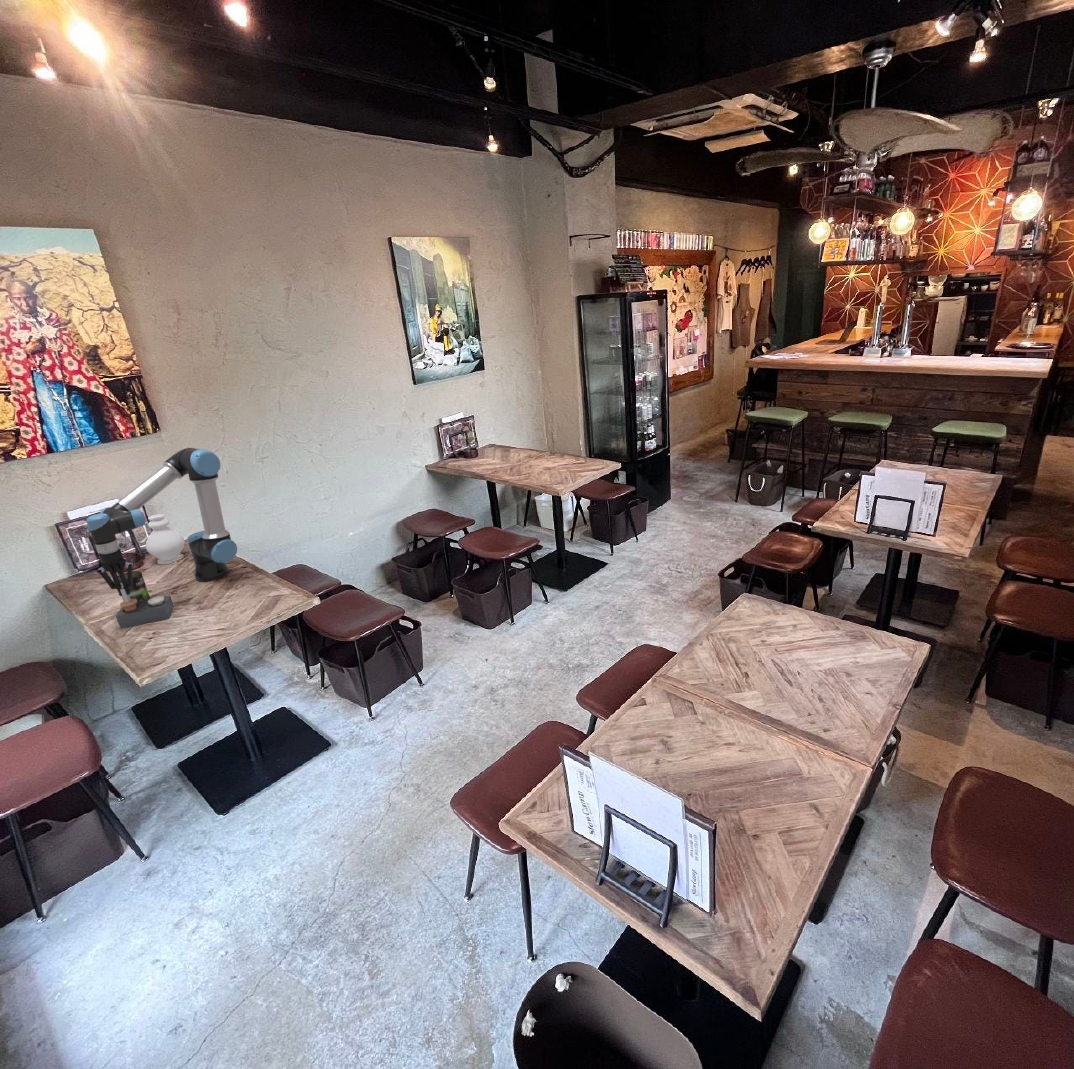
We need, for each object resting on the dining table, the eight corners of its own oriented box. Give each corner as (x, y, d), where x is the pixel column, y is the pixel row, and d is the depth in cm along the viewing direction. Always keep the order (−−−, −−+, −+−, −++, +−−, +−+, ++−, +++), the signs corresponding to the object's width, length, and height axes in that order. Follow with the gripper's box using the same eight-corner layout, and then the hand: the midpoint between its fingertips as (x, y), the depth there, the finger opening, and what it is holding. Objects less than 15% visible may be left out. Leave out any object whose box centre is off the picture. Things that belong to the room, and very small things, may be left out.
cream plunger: (169, 608, 256) (165, 594, 254) (166, 614, 251) (162, 600, 249) (154, 611, 254) (149, 597, 252) (151, 617, 249) (146, 603, 247)
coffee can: (155, 596, 271) (145, 569, 266) (145, 606, 262) (134, 578, 256) (131, 599, 270) (121, 572, 265) (120, 609, 260) (109, 581, 255)
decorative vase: (193, 557, 314) (180, 514, 305) (157, 569, 302) (141, 524, 293) (183, 550, 326) (169, 508, 316) (147, 560, 314) (132, 517, 305)
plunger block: (174, 606, 260) (170, 594, 257) (168, 618, 249) (164, 606, 247) (128, 616, 254) (123, 604, 252) (120, 628, 244) (115, 616, 241)
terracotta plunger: (143, 610, 253) (138, 597, 250) (139, 617, 247) (134, 603, 245) (127, 614, 251) (122, 600, 248) (123, 620, 246) (118, 606, 243)
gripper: (87, 557, 233) (107, 608, 241) (125, 551, 237) (143, 601, 245) (93, 551, 239) (112, 601, 248) (129, 544, 243) (147, 594, 252)
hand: (128, 601), depth 247 cm, fingers closed
